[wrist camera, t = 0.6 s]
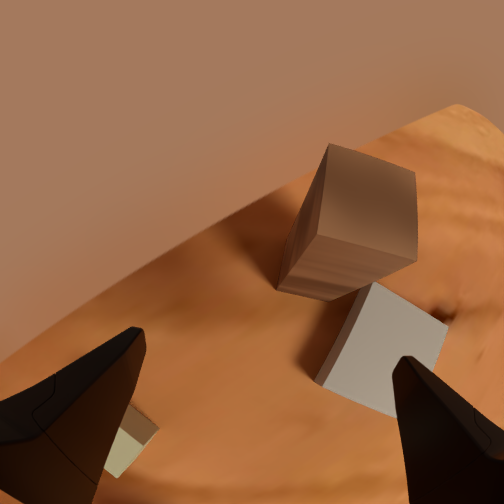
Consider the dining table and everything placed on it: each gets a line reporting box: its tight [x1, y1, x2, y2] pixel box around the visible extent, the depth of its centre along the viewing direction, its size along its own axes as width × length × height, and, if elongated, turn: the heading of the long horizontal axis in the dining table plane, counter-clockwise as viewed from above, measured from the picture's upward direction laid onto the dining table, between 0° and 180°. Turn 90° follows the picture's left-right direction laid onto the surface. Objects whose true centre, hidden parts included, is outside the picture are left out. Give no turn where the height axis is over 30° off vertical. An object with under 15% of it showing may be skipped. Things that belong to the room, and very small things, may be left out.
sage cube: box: [104, 404, 160, 478], centre depth 17 cm, size 4×4×4 cm
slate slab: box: [314, 282, 449, 418], centre depth 20 cm, size 9×9×3 cm
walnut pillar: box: [276, 143, 418, 302], centre depth 17 cm, size 4×4×13 cm
